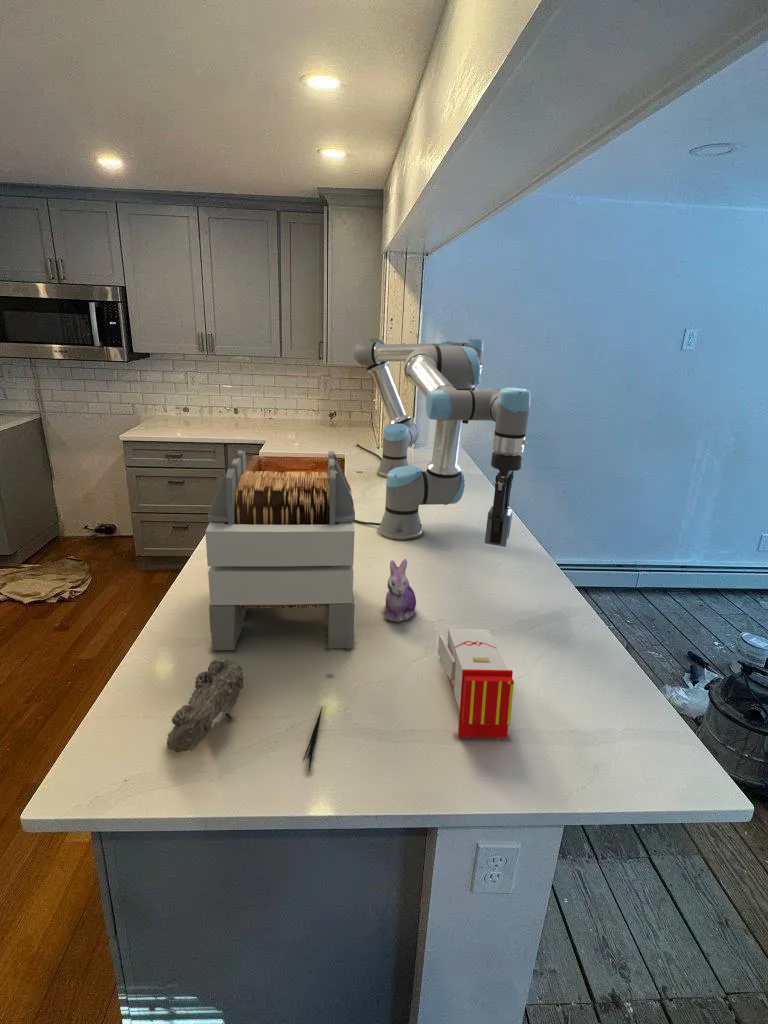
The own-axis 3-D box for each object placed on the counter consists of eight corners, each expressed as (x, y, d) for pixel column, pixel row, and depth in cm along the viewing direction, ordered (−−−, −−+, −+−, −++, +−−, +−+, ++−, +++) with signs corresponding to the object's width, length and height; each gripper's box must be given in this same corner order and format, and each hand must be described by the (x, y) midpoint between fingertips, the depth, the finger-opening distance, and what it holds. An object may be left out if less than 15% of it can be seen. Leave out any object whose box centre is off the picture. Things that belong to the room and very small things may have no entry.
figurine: (392, 627, 141) (395, 572, 136) (374, 608, 149) (376, 556, 144) (425, 619, 145) (429, 566, 140) (405, 601, 154) (408, 550, 149)
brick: (505, 547, 145) (509, 515, 142) (484, 543, 147) (488, 512, 144) (508, 540, 150) (512, 509, 147) (488, 536, 152) (491, 506, 149)
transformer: (231, 583, 159) (223, 441, 145) (347, 582, 163) (350, 443, 149) (209, 653, 127) (196, 479, 114) (354, 649, 131) (359, 481, 117)
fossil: (192, 660, 117) (244, 628, 112) (224, 691, 120) (276, 661, 115) (142, 746, 98) (202, 712, 93) (182, 779, 101) (242, 748, 96)
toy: (488, 613, 130) (523, 677, 101) (484, 667, 133) (517, 744, 104) (435, 612, 130) (455, 676, 101) (432, 666, 133) (451, 743, 103)
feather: (331, 679, 122) (336, 673, 122) (307, 777, 96) (313, 769, 95) (324, 675, 122) (329, 669, 121) (298, 772, 95) (304, 764, 95)
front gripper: (518, 462, 131) (505, 554, 139) (527, 446, 147) (516, 529, 155) (485, 458, 133) (475, 549, 141) (498, 442, 149) (489, 524, 157)
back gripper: (475, 377, 245) (470, 426, 252) (485, 372, 267) (481, 417, 274) (458, 376, 247) (454, 424, 254) (470, 371, 269) (465, 415, 277)
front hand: (497, 538), depth 148 cm, fingers closed on brick, 5 cm apart
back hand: (468, 420), depth 264 cm, fingers open, 13 cm apart
